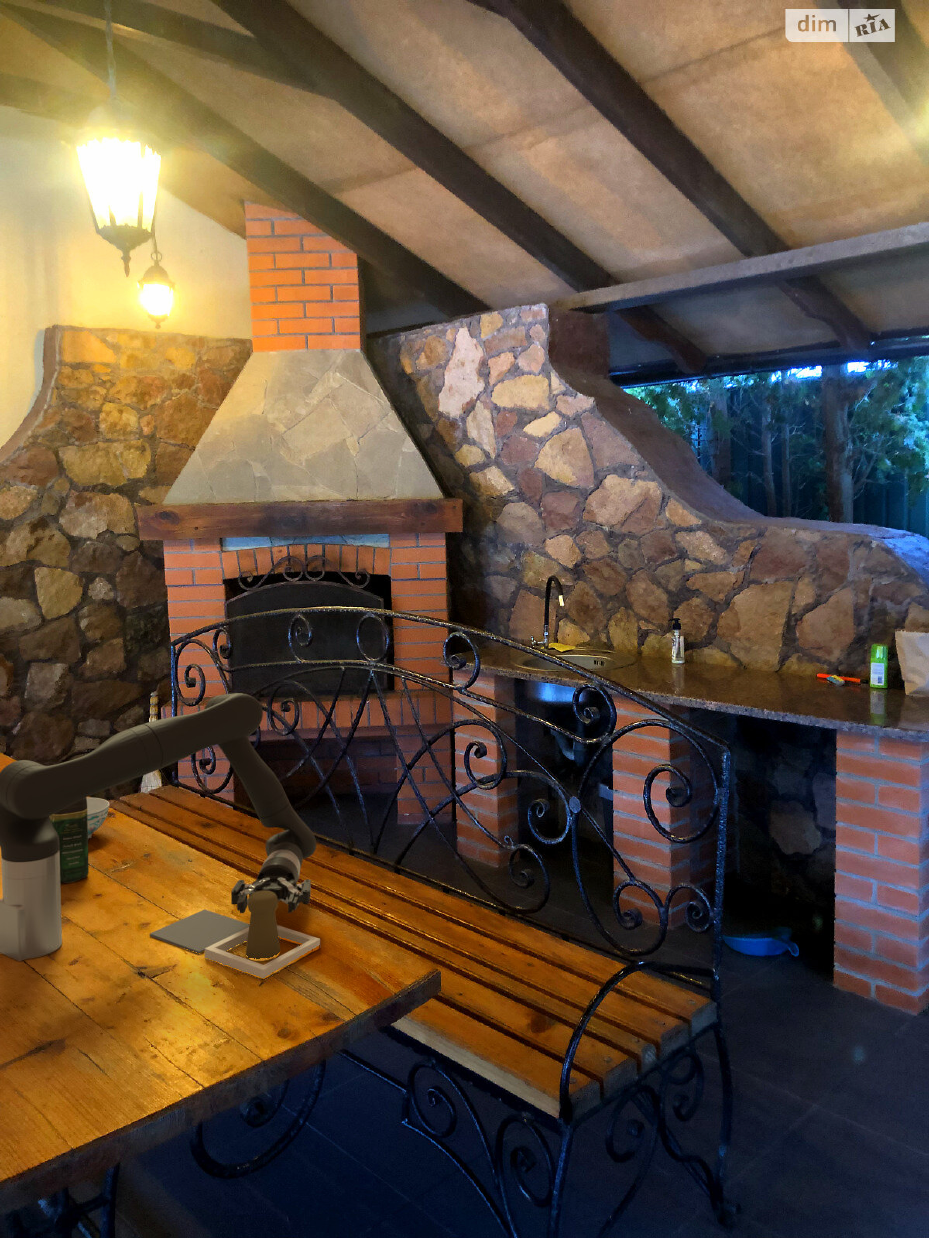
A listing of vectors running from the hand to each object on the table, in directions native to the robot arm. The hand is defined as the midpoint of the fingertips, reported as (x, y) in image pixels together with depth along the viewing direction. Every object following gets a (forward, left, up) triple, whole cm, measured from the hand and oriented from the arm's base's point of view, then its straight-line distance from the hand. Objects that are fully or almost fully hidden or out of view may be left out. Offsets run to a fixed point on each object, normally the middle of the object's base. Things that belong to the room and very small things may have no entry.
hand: (265, 907), depth 165 cm
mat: (-3, +13, -7) cm, 15 cm away
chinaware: (+16, +78, -7) cm, 80 cm away
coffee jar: (0, +58, -7) cm, 58 cm away
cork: (-3, -2, -7) cm, 8 cm away
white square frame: (-3, -2, -7) cm, 8 cm away
